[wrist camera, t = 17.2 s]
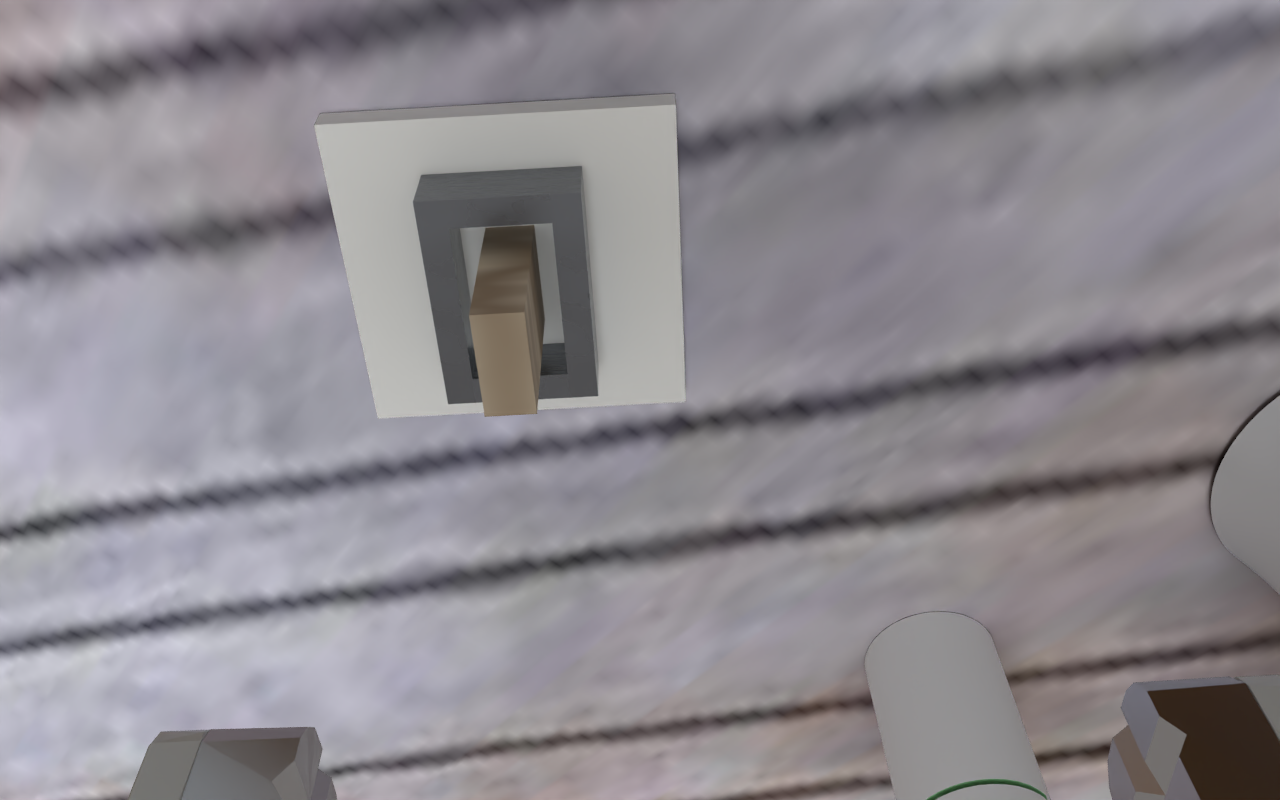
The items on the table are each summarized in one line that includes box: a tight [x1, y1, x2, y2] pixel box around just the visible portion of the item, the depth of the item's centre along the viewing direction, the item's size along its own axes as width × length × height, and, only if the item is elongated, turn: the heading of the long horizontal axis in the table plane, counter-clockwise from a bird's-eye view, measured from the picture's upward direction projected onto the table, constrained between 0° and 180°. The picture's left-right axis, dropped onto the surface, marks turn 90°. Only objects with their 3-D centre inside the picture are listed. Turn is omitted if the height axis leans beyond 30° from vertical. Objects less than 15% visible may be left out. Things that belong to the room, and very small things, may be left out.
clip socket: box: [413, 166, 599, 404], centre depth 48 cm, size 6×9×2 cm
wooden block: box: [469, 225, 545, 417], centre depth 47 cm, size 2×4×7 cm, turn 3°
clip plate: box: [314, 94, 686, 419], centre depth 50 cm, size 14×14×1 cm
